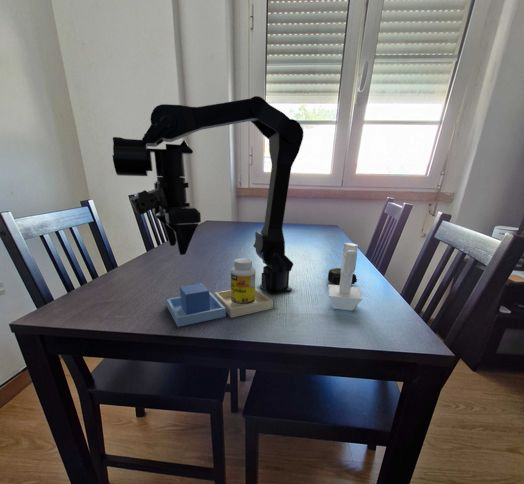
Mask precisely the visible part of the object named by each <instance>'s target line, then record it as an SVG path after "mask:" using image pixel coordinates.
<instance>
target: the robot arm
mask: <svg viewBox="0 0 524 484" xmlns="http://www.w3.org/2000/svg"><path fill="white" fill-rule="evenodd" d="M149 119H150V120H149V121H150V126H149V127H148V129H147V131H146V132H145V133H144V134H143V136H142V138H141V139H134V138H124V137H119V136H113V137H112V142H113V143H112V151H113V152H112V153H113V154H112V162H113V166H114V171H115V174H116V175H117V176H123V177H124V176H126V177H148V175H149V174H148V172H153V171H154V169H153V168H154V167H153V158H152V154H153V153H154V161H155V162H154V164H155V173H156V181H154V183H153V185H154V186H153V188H154V189H151V190H146V189H144V190H142V191H140V192H138V191H137V195H135V196H132V197H130V198H129V199H128V200H129V202H130V204H131V206H132V208H133V210H134V211H135V214H137V215H138V216H142V215H145V214H146V213H147V212H149V211H151V210H152V214H153V215H154V217H155V218H156V219H157V220H159V221H160V223H162V225H163V228H164V231H165V234H166V237H167V239H168V243H169V246H171V247H174V246H176V245H177V248H178V252H179V255H180V256H185V255H186V254H187V251H188V249H189V247H190V243H191V241H192V239H193V236H194V234H195V232H196V230H197V228H198V227H199V225H200V224H199V223H202V219H201V216H202V215H201V211H199V210H198V209H197V208H196V207H194V206H191V204H190V202H188V198H187V196H188V195H187V189H189V182H186V169H185V155H192V154H193V153H194V150H193V149H192V148H191V147H190V146H189V145H188V144H187V142H186V140H182V142H181V143H180V144H178V143H177V144H174V143H172V142H175V141H177V140H180V139H182V138H185V137H187V136H190V135H192V134H194V133H197V132H199V131H202V130H208V129H213V128H219V127H225V126H229V125H235V124H241V123H242V124H243V123H247V122H251V123H252V124H253V125H254V127H256V129H257V130H258V131H259V132H260V134H262V135H263V136H264V137H265V138H266V139H267V140H268V150H269V156H270V161H271V170H270V177H269V184H268V192H267V201H266V208H265V216H264V224H263V227H262V229H261V231H255V233H254V237H255V241H254V243H253V247H254V249H255V254H256V255H257V256H258V257H259V258H260V259H261V260H262V263H263V264H265V266H263V268H262V272H261V282H260V284H259V287H260V288H261V289H262V290H264V291H265V292H267V293H268V294H270V295H277V294H283V293H287V292H292V290H293V289H292V288H291V287H290V286H289V285H290V283H289V282H290V272H291V271H292V269H293V267H294V262H293V261H292V260H291V259H290V258H289V257H288V256H287V255H286V240H285V237H284V231H283V225H284V220H285V212H286V205H287V199H288V193H289V185H290V179H291V172H292V167H293V164H294V162H296V161H295V160H296V159H297V157H298V155H299V152H300V149H301V146H302V143H303V140H304V128H303V127H302V125H301V124H300V122H298V121H297V120H295V119H293V118H290V117H289V116H287V114H285V113H284V112H283V111H280V110H279V109H277V108H276V107H274V106H273V105H271V104H270V103H269V102H267V100H265V99H264V98H263V97H261V96H258V95H257V96H256V95H255V96H252V97H249V98H245V99H239V100H238V99H237V100H232V101H226V102H220V103H214V104H207V105H202V106H189V105H182V104H168V103H162V104H159V105H156V106H155V107H154V108H153V109H152V111H151V113H150V118H149ZM163 142H166V143H165V148H156V147H158V146H159V145H161V144H163ZM148 147H152V148H148ZM153 147H154V148H153Z"/></svg>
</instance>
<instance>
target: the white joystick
mask: <svg viewBox="0 0 524 484" xmlns="http://www.w3.org/2000/svg"><path fill="white" fill-rule="evenodd" d="M358 249H359V245H358V244H357V243H353V242H352V243H351V242H344V243H343V249H342V256H341V264H340V268H341V278H340V285H335V284H328V299H329V301H330V303H331V306H332V309H334V310H335V309H336V310H343V311H354V310H355V309H356V307H357V306H358V305H359V304H360V302H362V300H363V297H362V293H361V288H360V287H358V286H352V284H351V283H352V277H353V274H355V271H356V267H357V259H358Z"/></svg>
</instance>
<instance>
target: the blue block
mask: <svg viewBox="0 0 524 484" xmlns="http://www.w3.org/2000/svg"><path fill="white" fill-rule="evenodd" d="M209 292H210V290H209V289H208V288H207V287H206V286H205V285H204V284H203V283H195V284H189V285H182V286H179V293H180V294H179V295H180V297H181V306H182V309H183V310H184V312H185V313H186V315H189V314H194V313H199V312H204V311H209V310H210V298H209Z"/></svg>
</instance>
